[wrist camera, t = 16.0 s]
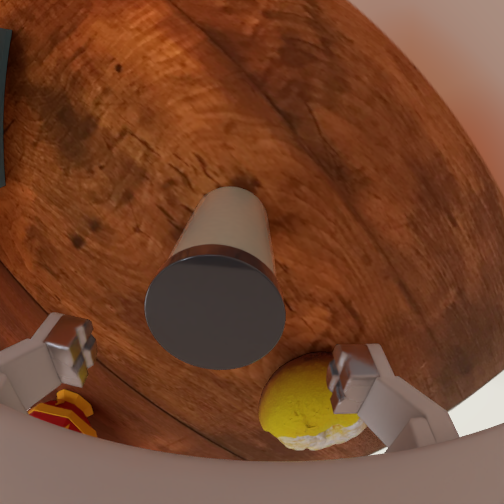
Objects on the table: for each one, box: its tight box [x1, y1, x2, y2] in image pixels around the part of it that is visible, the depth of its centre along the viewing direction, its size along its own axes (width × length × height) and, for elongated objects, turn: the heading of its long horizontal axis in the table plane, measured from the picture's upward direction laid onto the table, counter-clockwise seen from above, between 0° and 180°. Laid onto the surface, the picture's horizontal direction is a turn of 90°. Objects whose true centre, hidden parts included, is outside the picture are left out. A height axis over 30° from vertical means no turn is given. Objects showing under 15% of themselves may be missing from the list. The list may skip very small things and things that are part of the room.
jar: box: [144, 187, 286, 370], centre depth 17 cm, size 6×6×11 cm
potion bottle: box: [27, 389, 97, 437], centre depth 25 cm, size 10×10×15 cm
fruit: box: [258, 352, 367, 450], centre depth 26 cm, size 11×10×8 cm
